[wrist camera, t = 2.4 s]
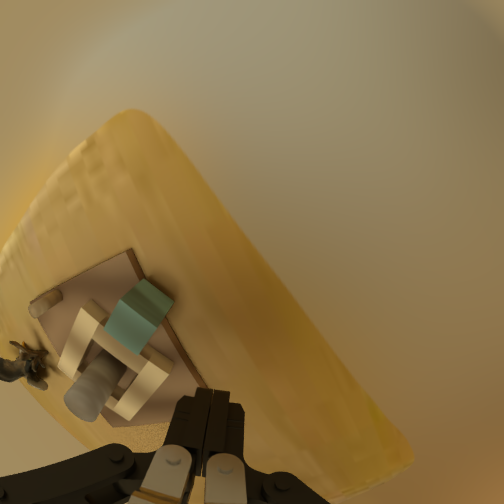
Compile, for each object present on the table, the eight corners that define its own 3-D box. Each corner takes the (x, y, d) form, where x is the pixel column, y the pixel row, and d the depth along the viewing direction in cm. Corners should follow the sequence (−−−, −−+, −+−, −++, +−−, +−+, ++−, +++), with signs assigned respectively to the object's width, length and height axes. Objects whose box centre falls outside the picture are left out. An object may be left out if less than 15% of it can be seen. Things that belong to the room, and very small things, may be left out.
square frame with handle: (134, 410, 23) (121, 438, 19) (65, 358, 22) (44, 380, 18) (206, 324, 21) (196, 354, 17) (114, 254, 20) (85, 269, 15)
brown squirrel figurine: (15, 313, 21) (-12, 345, 21) (6, 365, 16) (-18, 391, 16) (62, 345, 27) (30, 371, 26) (63, 394, 21) (30, 415, 21)
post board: (218, 404, 24) (209, 469, 16) (116, 421, 25) (91, 468, 17) (131, 248, 21) (75, 278, 13) (36, 298, 22) (-14, 329, 14)
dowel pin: (64, 299, 21) (39, 316, 17) (57, 302, 21) (32, 319, 17) (59, 287, 20) (33, 303, 17) (52, 291, 21) (26, 306, 17)
